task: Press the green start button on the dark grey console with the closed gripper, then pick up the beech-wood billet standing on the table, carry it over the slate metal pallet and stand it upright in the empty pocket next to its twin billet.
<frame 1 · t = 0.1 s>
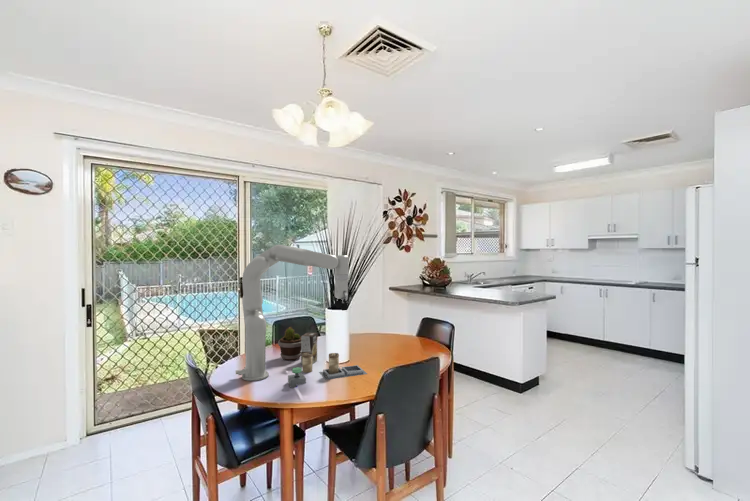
hand: (341, 308, 199), 31 cm above the table, tool pointing down, fingers open, 9 cm apart
billet: (307, 373, 186), on the table
button: (296, 372, 171), point 5 cm above the table, slide at 0.0 cm
flowerpot: (291, 358, 212), on the table
twin billet: (333, 374, 181), point 1 cm above the table, touching pallet
pallet: (343, 375, 183), on the table
coffee box: (309, 363, 204), on the table
console: (296, 384, 171), on the table
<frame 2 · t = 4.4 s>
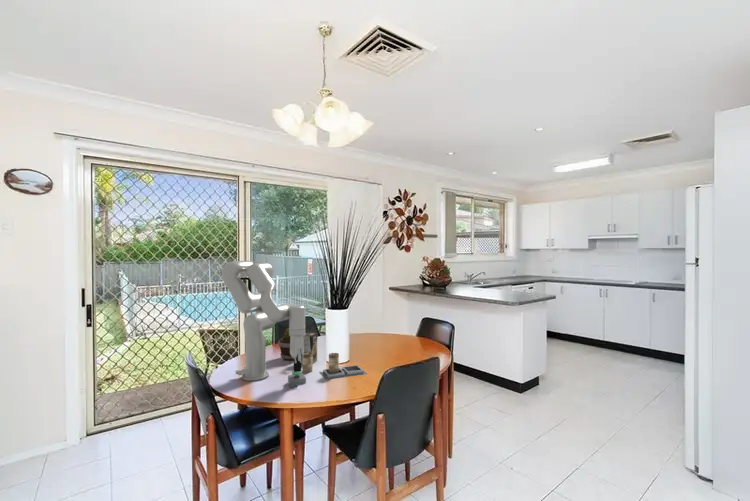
hand: (297, 370, 171), 6 cm above the table, tool pointing down, fingers closed
button: (296, 374, 171), point 4 cm above the table, slide at 0.9 cm, touching gripper
everything else where it was.
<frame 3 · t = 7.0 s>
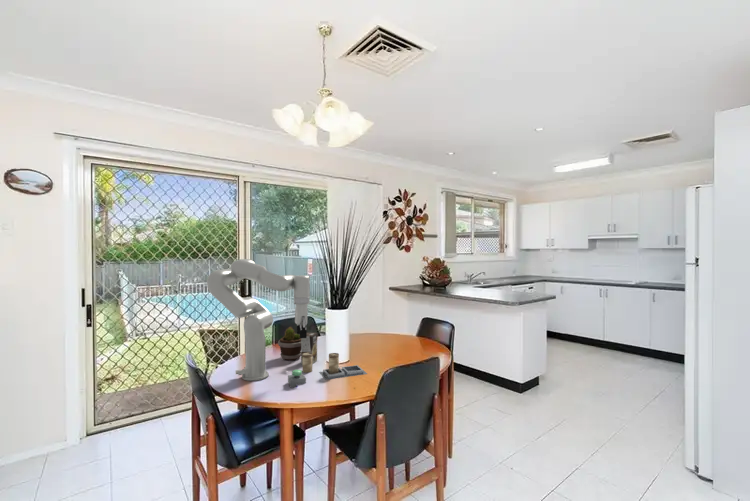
hand: (301, 335, 177), 21 cm above the table, tool pointing down, fingers open, 9 cm apart
button: (296, 375, 171), point 4 cm above the table, slide at 1.1 cm
everything else where it was.
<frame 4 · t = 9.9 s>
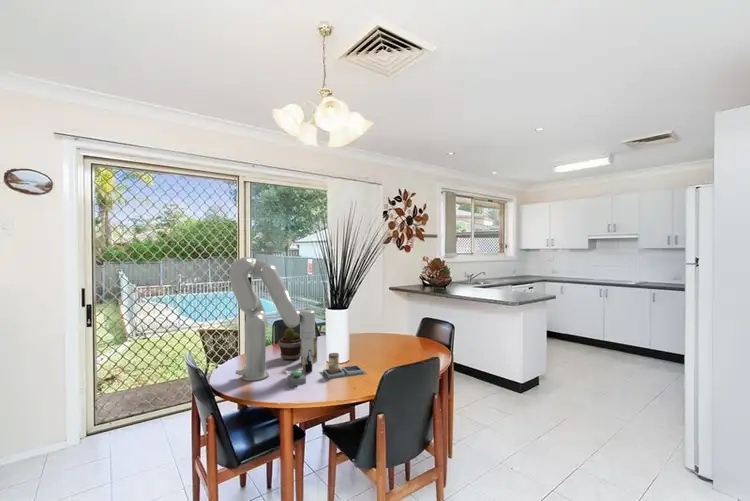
hand: (307, 369, 186), 2 cm above the table, tool pointing down, fingers closed on billet, 5 cm apart
billet: (307, 373, 186), on the table, touching gripper
everything else where it was.
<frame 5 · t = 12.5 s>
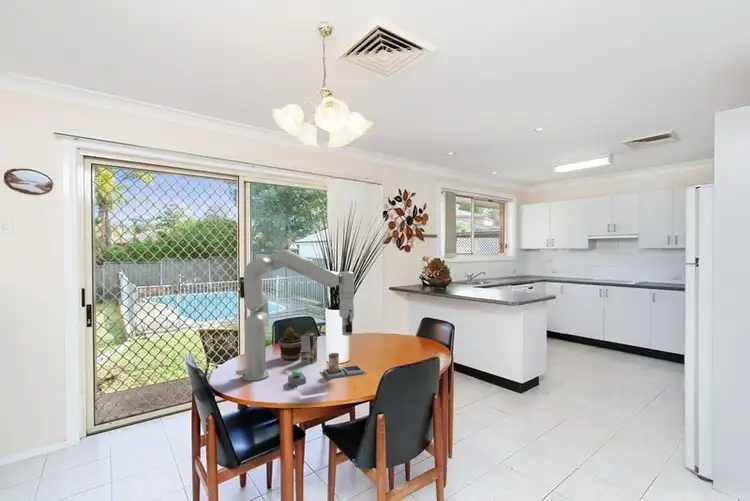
hand: (347, 330, 186), 22 cm above the table, tool pointing down, fingers closed on billet, 5 cm apart
billet: (347, 334, 186), point 20 cm above the table, touching gripper
everything else where it was.
when the fingers open (4 cm above the table, at t = 15.4 s): billet stays where it is, resting on pallet.
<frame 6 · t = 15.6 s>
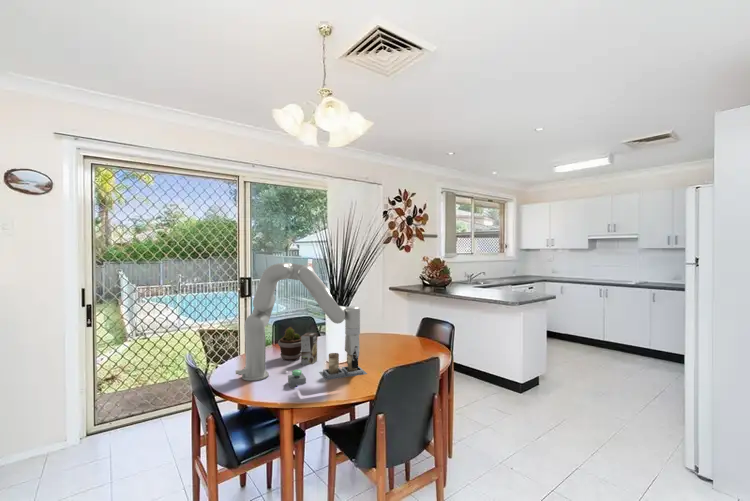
hand: (352, 365, 185), 4 cm above the table, tool pointing down, fingers open, 6 cm apart
billet: (352, 371, 185), point 1 cm above the table, touching pallet
everything else where it was.
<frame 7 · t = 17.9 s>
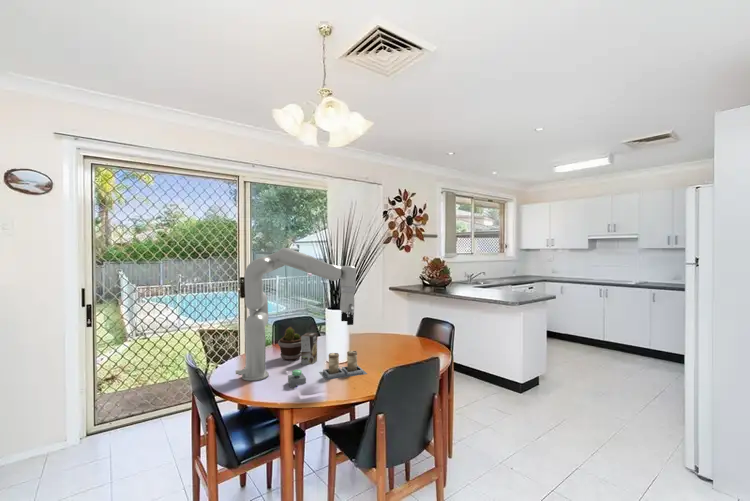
hand: (347, 322, 187), 26 cm above the table, tool pointing down, fingers open, 9 cm apart
nothing on the table moved.
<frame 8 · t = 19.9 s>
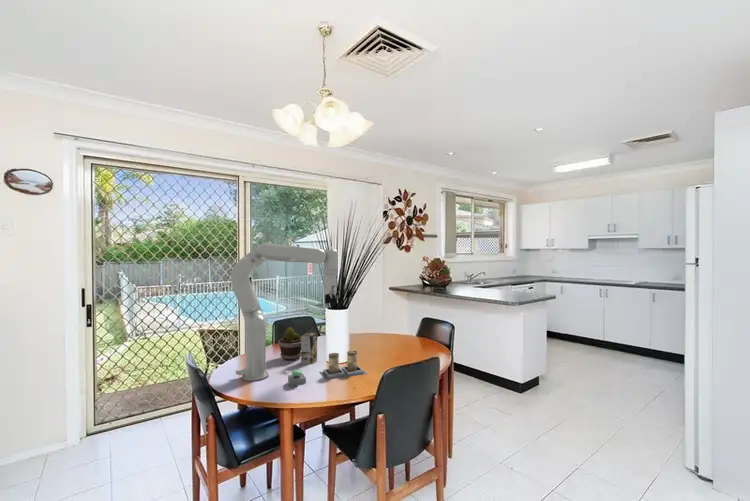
hand: (330, 304, 194), 34 cm above the table, tool pointing down, fingers open, 9 cm apart
nothing on the table moved.
at the end: billet 0.1 cm from the target spot on the pallet, point 1.2 cm above the pallet's base; billet tilted 1°; button slide at 1.1 cm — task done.
